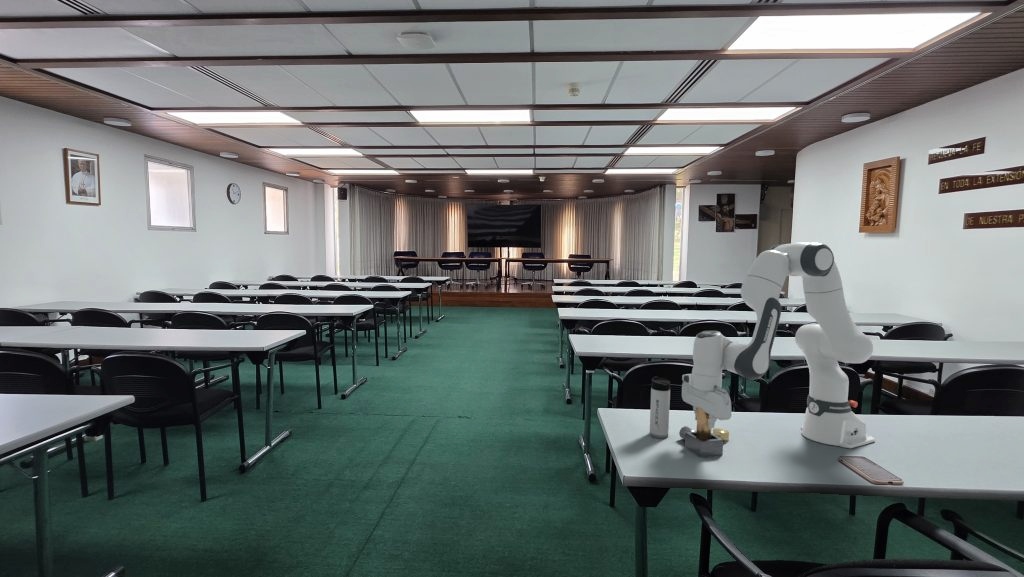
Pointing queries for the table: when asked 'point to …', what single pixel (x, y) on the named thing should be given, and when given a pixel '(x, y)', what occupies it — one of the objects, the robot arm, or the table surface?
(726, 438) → the brass round knob
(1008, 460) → the table surface
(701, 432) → the copper brown cylinder
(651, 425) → the travel mug
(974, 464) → the table surface
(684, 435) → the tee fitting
